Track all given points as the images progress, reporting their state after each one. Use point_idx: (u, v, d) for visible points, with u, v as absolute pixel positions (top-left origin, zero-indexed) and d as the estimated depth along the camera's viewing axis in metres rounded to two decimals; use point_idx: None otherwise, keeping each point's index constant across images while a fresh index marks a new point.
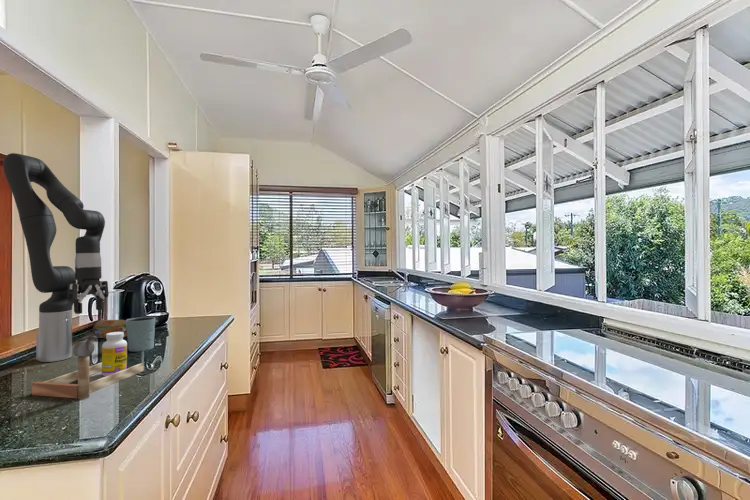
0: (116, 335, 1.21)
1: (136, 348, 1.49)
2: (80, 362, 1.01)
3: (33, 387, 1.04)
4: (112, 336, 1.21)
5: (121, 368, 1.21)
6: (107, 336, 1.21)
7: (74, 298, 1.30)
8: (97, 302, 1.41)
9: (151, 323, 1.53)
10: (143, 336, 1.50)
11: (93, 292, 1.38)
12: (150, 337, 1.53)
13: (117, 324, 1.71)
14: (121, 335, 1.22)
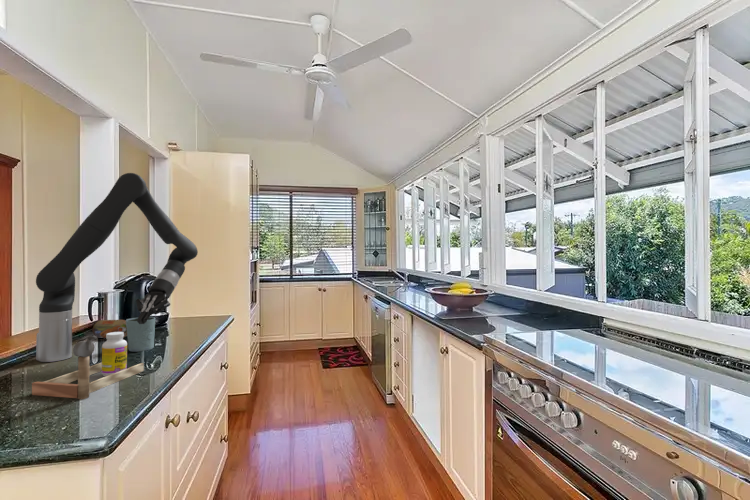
0: (116, 335, 1.21)
1: (136, 348, 1.49)
2: (80, 362, 1.01)
3: (33, 387, 1.04)
4: (112, 336, 1.21)
5: (121, 368, 1.21)
6: (107, 336, 1.21)
7: None
8: None
9: (151, 323, 1.53)
10: (143, 336, 1.50)
11: None
12: (150, 337, 1.53)
13: (117, 324, 1.71)
14: (121, 335, 1.22)
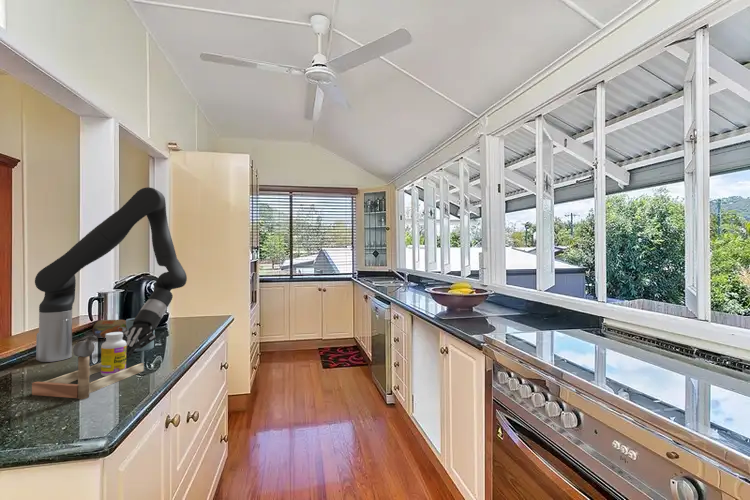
0: (115, 335, 1.21)
1: None
2: (80, 362, 1.01)
3: (33, 387, 1.04)
4: (111, 336, 1.20)
5: (120, 368, 1.21)
6: (106, 336, 1.20)
7: None
8: None
9: None
10: None
11: None
12: None
13: (117, 324, 1.71)
14: (120, 335, 1.22)
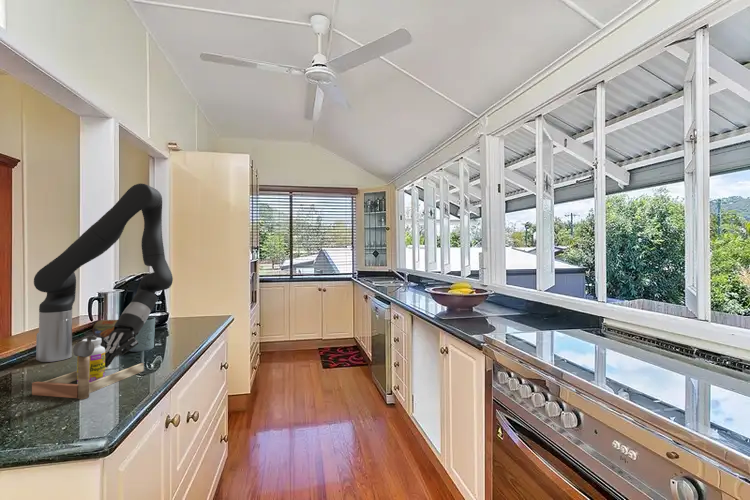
0: (92, 341, 1.12)
1: (136, 348, 1.49)
2: (80, 362, 1.01)
3: (33, 387, 1.04)
4: None
5: (97, 377, 1.13)
6: None
7: None
8: None
9: (151, 323, 1.53)
10: (143, 336, 1.50)
11: None
12: (150, 337, 1.53)
13: None
14: (98, 341, 1.14)
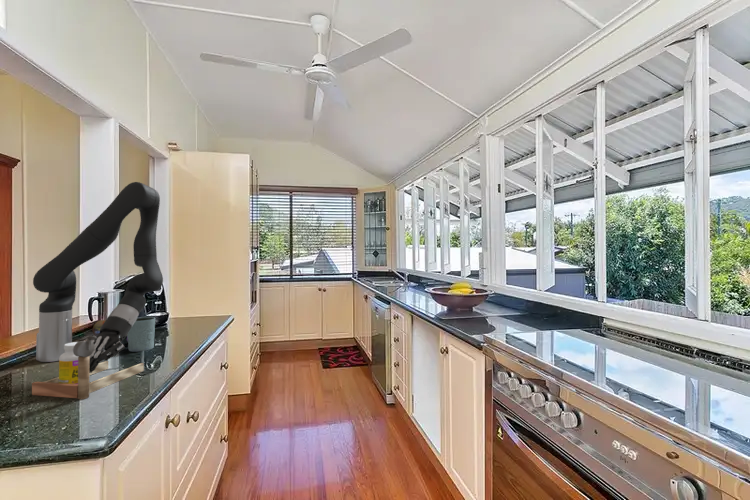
0: None
1: (136, 348, 1.49)
2: (80, 362, 1.01)
3: (33, 387, 1.04)
4: (70, 347, 1.06)
5: None
6: (64, 347, 1.07)
7: None
8: None
9: (151, 323, 1.53)
10: (143, 336, 1.50)
11: None
12: (150, 337, 1.53)
13: None
14: None
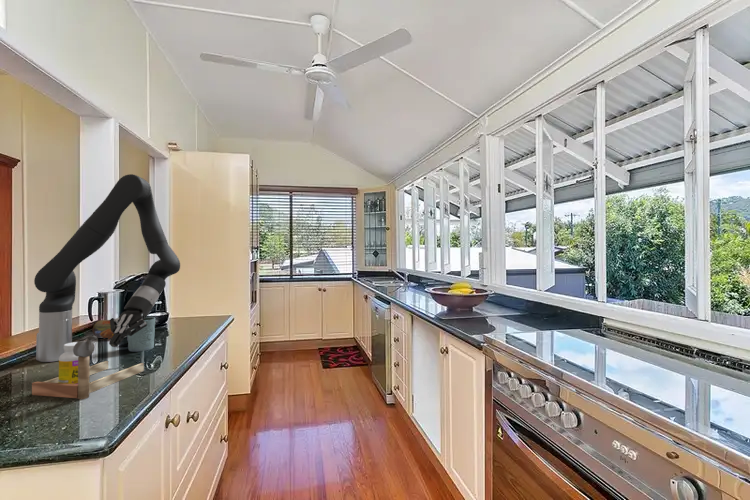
0: None
1: (136, 348, 1.49)
2: (80, 362, 1.01)
3: (33, 387, 1.04)
4: (69, 347, 1.06)
5: None
6: (64, 347, 1.07)
7: None
8: None
9: (151, 323, 1.53)
10: (143, 336, 1.50)
11: None
12: (150, 337, 1.53)
13: None
14: None
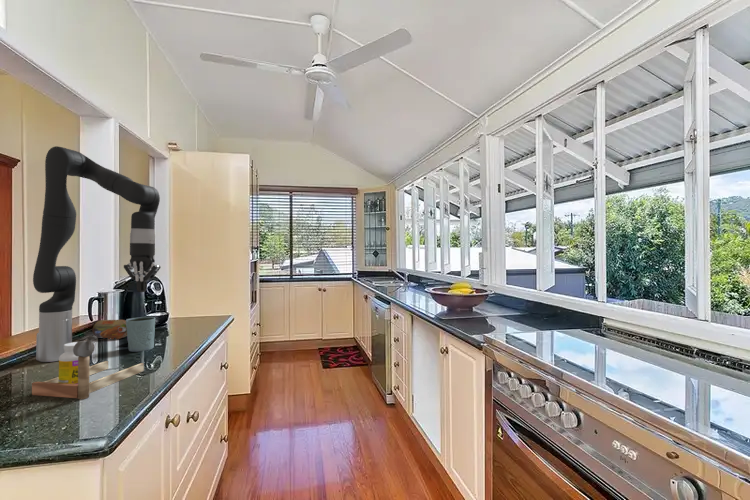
0: None
1: (136, 348, 1.49)
2: (80, 362, 1.01)
3: (33, 387, 1.04)
4: (69, 347, 1.06)
5: None
6: (64, 347, 1.07)
7: None
8: None
9: (151, 323, 1.53)
10: (143, 336, 1.50)
11: None
12: (150, 337, 1.53)
13: (117, 324, 1.71)
14: None
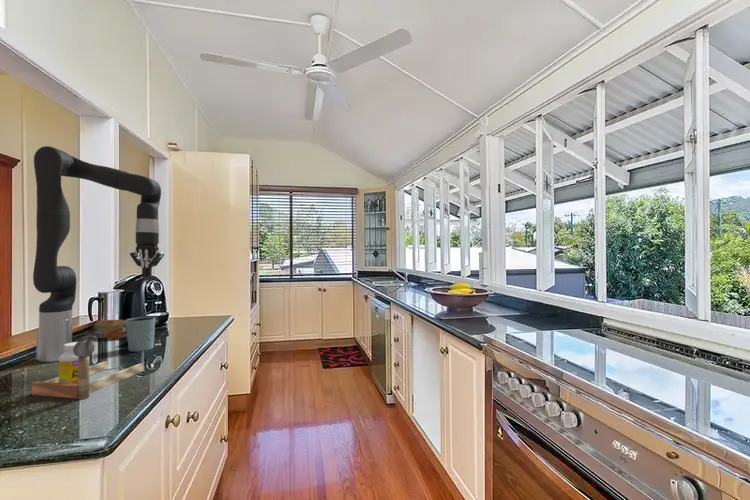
0: None
1: (136, 348, 1.49)
2: (80, 362, 1.01)
3: (33, 387, 1.04)
4: (69, 347, 1.06)
5: None
6: (64, 347, 1.07)
7: None
8: None
9: (151, 323, 1.53)
10: (143, 336, 1.50)
11: None
12: (150, 337, 1.53)
13: (117, 324, 1.71)
14: None
